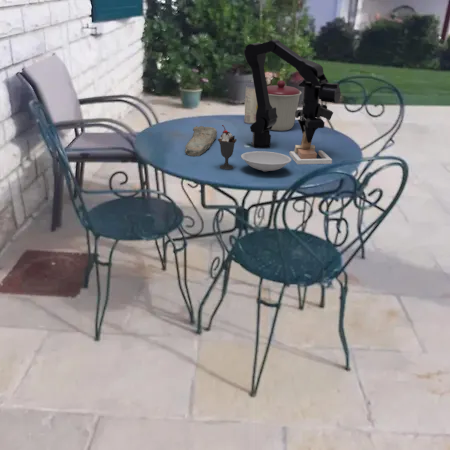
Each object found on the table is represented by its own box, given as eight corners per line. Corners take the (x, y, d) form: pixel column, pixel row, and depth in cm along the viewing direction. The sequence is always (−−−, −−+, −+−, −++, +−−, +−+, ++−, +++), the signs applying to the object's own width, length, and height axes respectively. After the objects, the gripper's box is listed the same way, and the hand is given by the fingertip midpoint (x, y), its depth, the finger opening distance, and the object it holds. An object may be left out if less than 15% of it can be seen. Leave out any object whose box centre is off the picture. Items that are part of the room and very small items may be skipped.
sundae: (216, 164, 200) (217, 123, 194) (234, 164, 200) (236, 123, 194) (217, 170, 194) (218, 128, 188) (236, 170, 194) (238, 128, 188)
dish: (293, 167, 199) (294, 154, 197) (286, 180, 186) (287, 166, 184) (245, 162, 203) (246, 149, 201) (235, 174, 190) (236, 160, 188)
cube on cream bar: (312, 149, 217) (317, 131, 210) (314, 154, 215) (318, 136, 208) (294, 149, 217) (297, 131, 210) (295, 154, 215) (298, 136, 208)
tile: (300, 160, 209) (301, 153, 208) (297, 155, 214) (297, 149, 213) (316, 159, 209) (316, 153, 208) (312, 155, 215) (313, 148, 214)
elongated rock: (178, 159, 209) (204, 162, 208) (179, 146, 207) (205, 149, 206) (197, 131, 240) (220, 133, 239) (198, 119, 238) (221, 122, 236)
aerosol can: (257, 124, 254) (259, 80, 246) (242, 123, 256) (244, 79, 247) (260, 121, 260) (262, 77, 252) (245, 120, 262) (247, 76, 253)
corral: (297, 164, 202) (297, 160, 202) (289, 154, 213) (289, 151, 212) (331, 163, 204) (332, 159, 204) (321, 154, 215) (322, 150, 214)
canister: (249, 127, 250) (252, 79, 241) (277, 121, 261) (280, 75, 252) (279, 135, 238) (282, 85, 229) (306, 129, 249) (311, 81, 240)
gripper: (340, 104, 197) (335, 147, 204) (324, 94, 214) (320, 134, 221) (310, 105, 196) (306, 148, 202) (296, 94, 213) (293, 134, 219)
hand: (307, 141), depth 211 cm, fingers closed on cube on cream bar, 4 cm apart
